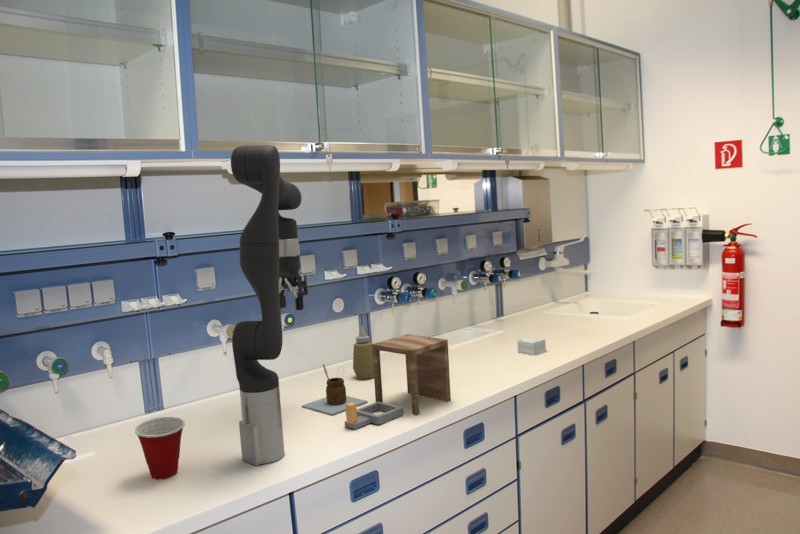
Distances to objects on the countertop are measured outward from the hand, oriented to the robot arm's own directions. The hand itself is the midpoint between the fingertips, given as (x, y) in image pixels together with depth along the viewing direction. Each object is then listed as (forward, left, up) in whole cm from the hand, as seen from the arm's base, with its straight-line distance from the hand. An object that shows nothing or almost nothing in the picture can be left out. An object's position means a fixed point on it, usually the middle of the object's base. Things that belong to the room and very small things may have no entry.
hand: (290, 308), depth 184 cm
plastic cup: (-48, -13, -30) cm, 58 cm away
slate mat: (+8, -8, -30) cm, 32 cm away
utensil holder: (+8, -8, -30) cm, 32 cm away
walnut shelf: (+22, -27, -30) cm, 46 cm away
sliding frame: (+4, -27, -30) cm, 40 cm away
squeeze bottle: (+34, +6, -30) cm, 46 cm away
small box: (+92, -24, -30) cm, 100 cm away
